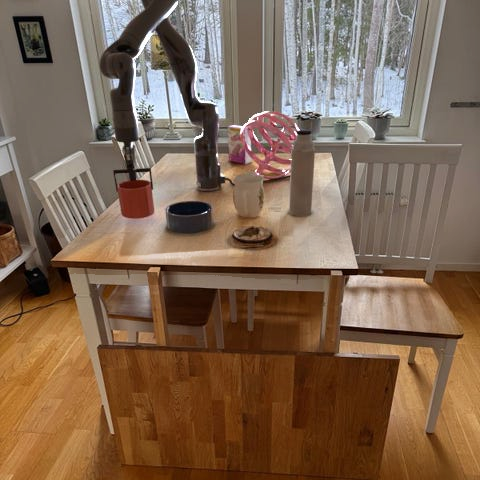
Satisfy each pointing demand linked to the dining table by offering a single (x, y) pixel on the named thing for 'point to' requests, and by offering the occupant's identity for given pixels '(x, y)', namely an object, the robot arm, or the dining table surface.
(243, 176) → the pitcher
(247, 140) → the candy bar box
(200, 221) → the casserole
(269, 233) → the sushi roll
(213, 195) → the dining table surface
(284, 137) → the spiral basket
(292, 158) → the thermos bottle
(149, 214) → the red bucket
